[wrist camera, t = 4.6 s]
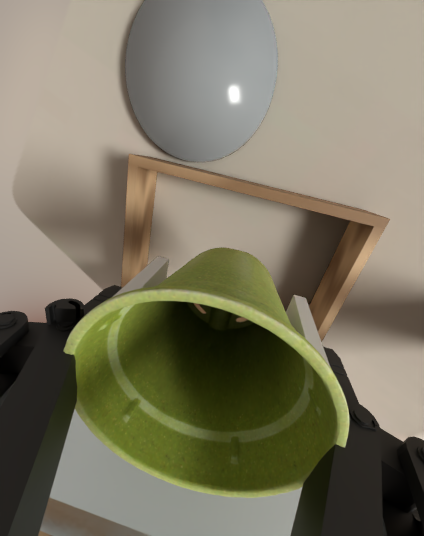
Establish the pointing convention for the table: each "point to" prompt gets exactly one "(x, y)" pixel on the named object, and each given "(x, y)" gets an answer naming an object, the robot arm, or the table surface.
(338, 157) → the table surface
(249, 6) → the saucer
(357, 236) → the frame
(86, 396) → the plant pot
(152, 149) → the table surface
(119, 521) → the lid
